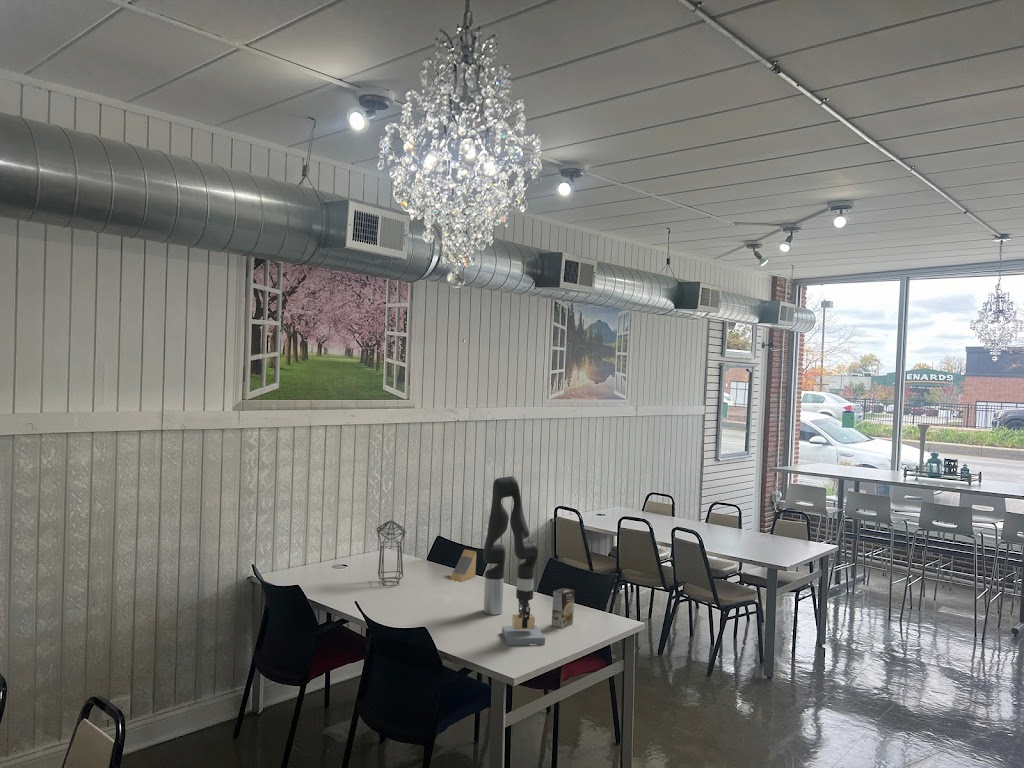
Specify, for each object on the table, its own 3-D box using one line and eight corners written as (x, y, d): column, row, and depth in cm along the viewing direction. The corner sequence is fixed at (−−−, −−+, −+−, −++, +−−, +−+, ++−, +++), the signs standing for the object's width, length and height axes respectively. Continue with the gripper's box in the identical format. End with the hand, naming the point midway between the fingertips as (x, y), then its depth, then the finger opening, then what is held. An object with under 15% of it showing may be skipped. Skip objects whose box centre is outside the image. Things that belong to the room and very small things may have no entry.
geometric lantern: (405, 587, 401) (407, 522, 401) (376, 588, 397) (377, 523, 397) (402, 578, 417) (404, 517, 416) (374, 580, 413) (375, 517, 412)
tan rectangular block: (512, 625, 330) (512, 614, 330) (531, 625, 331) (532, 614, 331) (514, 629, 325) (514, 618, 325) (534, 629, 326) (534, 617, 326)
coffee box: (562, 628, 345) (563, 593, 345) (551, 624, 349) (552, 590, 349) (573, 623, 352) (574, 590, 352) (562, 620, 356) (563, 587, 356)
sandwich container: (448, 580, 419) (449, 553, 419) (463, 574, 433) (464, 549, 433) (460, 582, 415) (462, 556, 415) (475, 577, 428) (476, 551, 428)
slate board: (502, 632, 334) (502, 626, 334) (536, 632, 338) (536, 625, 338) (508, 645, 319) (509, 638, 319) (544, 644, 322) (545, 637, 322)
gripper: (513, 583, 334) (511, 620, 334) (520, 592, 320) (518, 631, 320) (529, 583, 336) (528, 620, 336) (536, 592, 322) (535, 631, 322)
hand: (523, 625), depth 328 cm, fingers closed on tan rectangular block, 5 cm apart
